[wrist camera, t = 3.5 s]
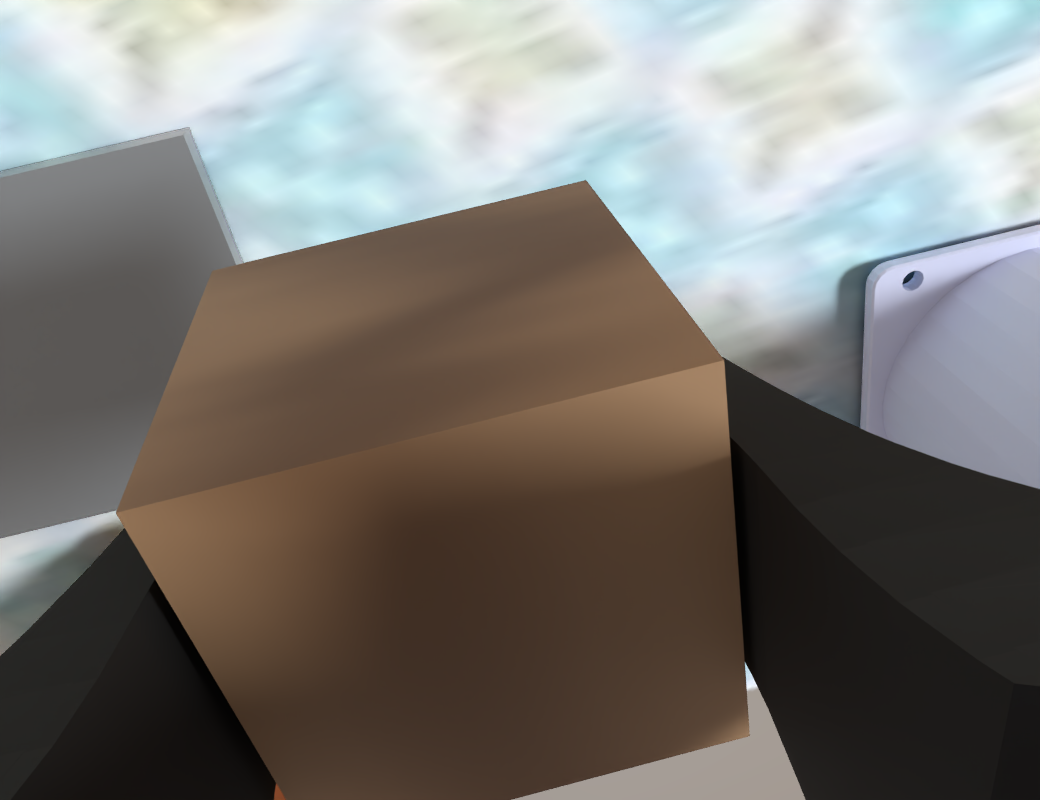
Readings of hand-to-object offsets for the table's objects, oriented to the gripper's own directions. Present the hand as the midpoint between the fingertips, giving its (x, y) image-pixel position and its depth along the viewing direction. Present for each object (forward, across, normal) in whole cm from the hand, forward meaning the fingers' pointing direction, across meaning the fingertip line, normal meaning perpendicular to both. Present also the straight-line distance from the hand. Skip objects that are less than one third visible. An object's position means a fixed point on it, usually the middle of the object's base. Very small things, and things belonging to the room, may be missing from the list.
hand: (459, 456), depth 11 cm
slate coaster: (+9, +8, +1) cm, 12 cm away
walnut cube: (+2, 0, 0) cm, 2 cm away
